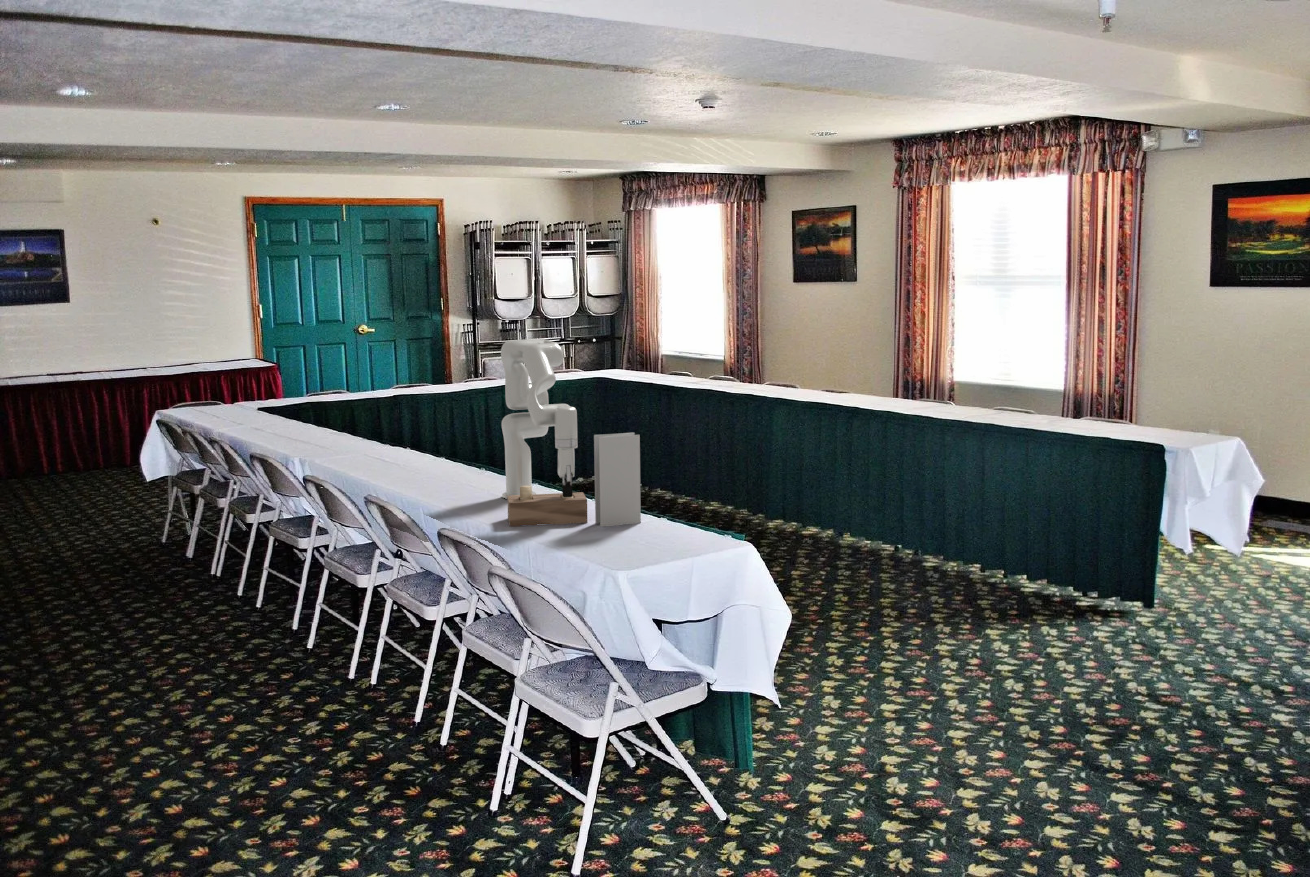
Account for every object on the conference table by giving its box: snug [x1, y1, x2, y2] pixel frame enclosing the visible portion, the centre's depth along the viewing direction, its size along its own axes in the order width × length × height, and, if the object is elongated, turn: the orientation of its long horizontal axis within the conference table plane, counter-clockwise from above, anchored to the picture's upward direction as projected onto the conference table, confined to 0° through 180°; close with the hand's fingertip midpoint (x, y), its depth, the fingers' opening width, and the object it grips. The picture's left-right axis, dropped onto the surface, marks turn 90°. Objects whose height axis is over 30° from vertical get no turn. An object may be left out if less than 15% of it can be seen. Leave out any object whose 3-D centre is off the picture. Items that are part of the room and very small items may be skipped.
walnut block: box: [506, 491, 588, 527], centre depth 373 cm, size 12×26×8 cm, turn 100°
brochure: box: [593, 432, 642, 528], centre depth 367 cm, size 14×6×30 cm, turn 111°
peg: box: [520, 485, 533, 500], centre depth 371 cm, size 4×4×8 cm
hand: (567, 496), depth 373 cm, fingers closed
